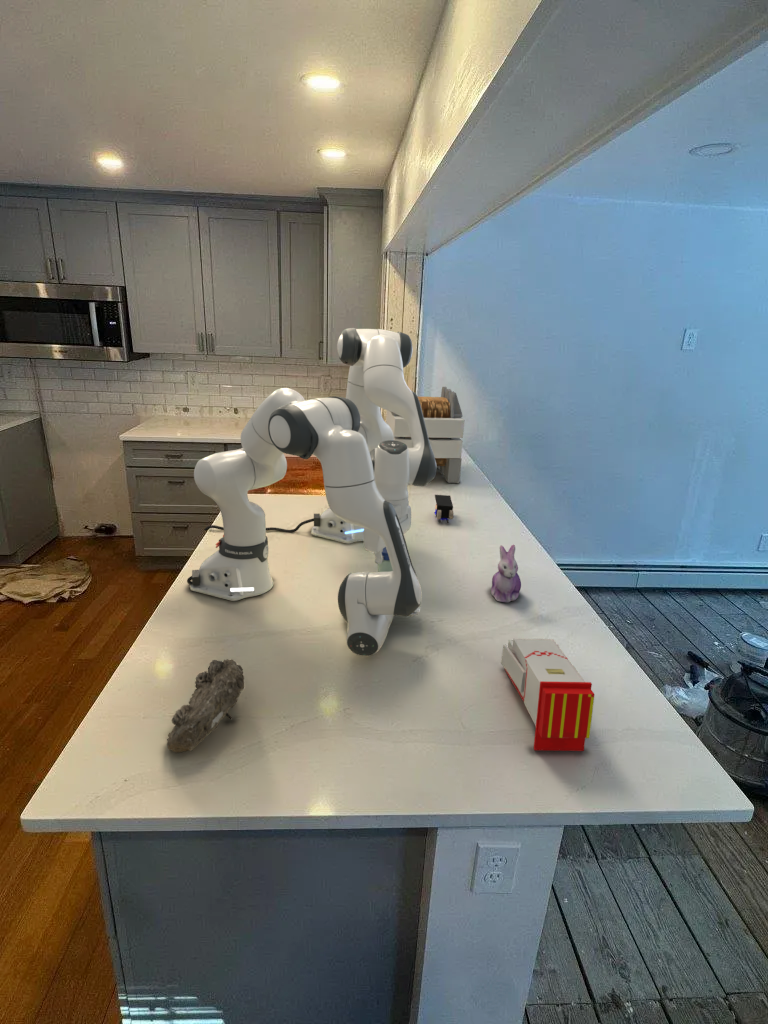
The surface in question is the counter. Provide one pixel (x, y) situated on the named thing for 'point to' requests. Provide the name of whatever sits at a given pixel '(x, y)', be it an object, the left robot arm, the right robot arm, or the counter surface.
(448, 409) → the transformer
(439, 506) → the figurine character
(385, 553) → the lid
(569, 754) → the counter surface
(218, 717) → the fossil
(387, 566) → the jar
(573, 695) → the toy
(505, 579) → the figurine
